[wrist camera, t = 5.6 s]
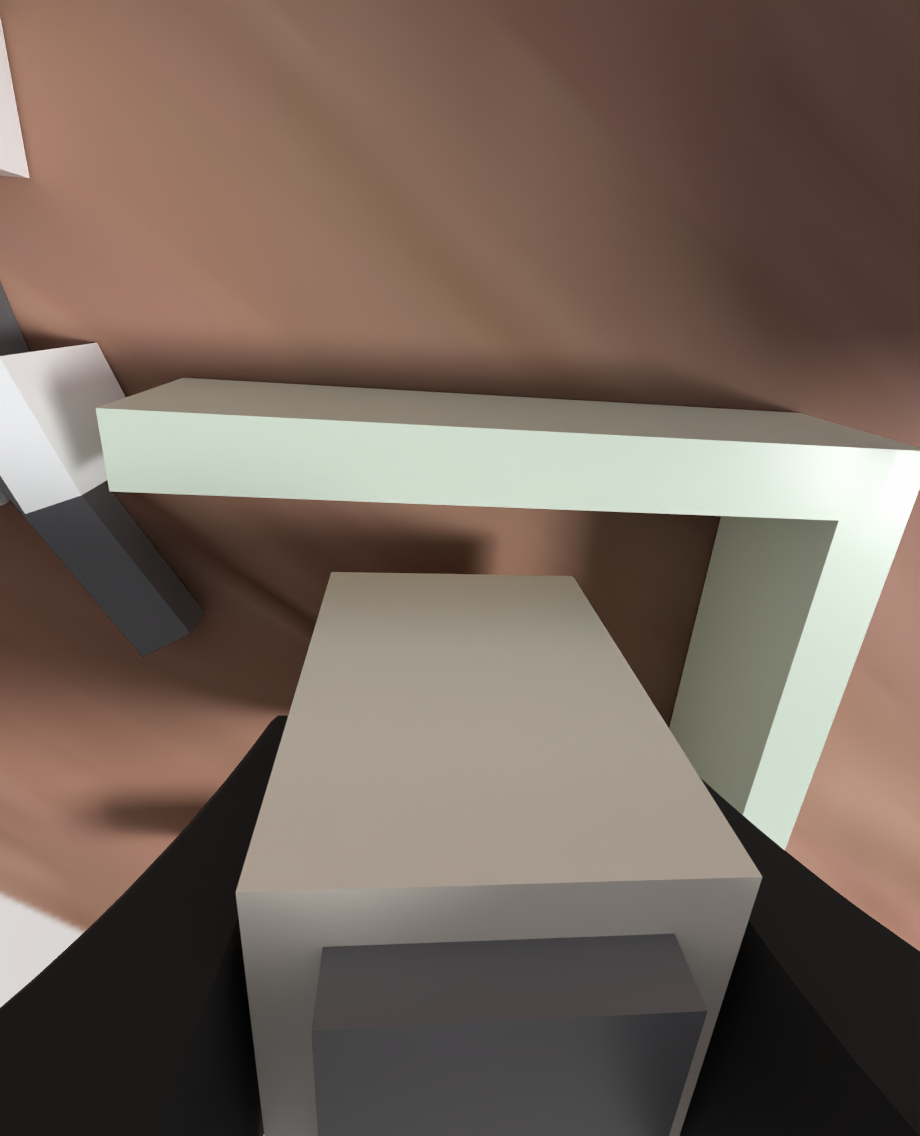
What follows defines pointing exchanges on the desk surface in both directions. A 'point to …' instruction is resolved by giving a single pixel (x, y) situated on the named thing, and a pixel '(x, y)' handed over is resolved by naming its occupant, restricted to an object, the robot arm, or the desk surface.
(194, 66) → the desk surface
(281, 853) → the block
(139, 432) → the holder
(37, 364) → the clips
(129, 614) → the cable
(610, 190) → the desk surface
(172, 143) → the desk surface
